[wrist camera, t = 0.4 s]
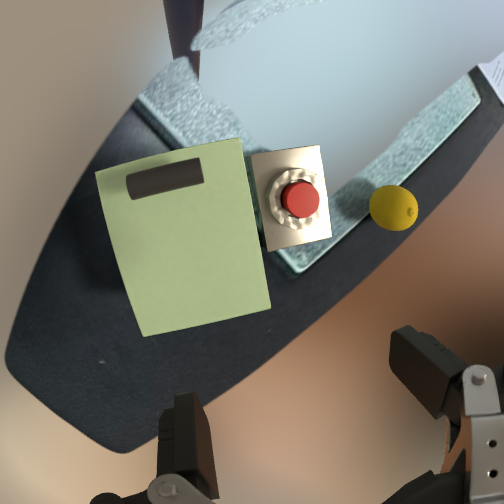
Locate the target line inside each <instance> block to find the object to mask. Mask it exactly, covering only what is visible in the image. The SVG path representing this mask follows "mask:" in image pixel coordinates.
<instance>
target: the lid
mask: <svg viewBox="0 0 504 504" xmlns="http://www.w3.org/2000/svg"><path fill="white" fill-rule="evenodd" d="M95 176H96V181H97V186H98V190H99V195H100V199H101V204H102V208H103V212H104V216H105V220H106V224H107V228H108V232H109V235H110V239H111V243H112V246H113V250H114V253H115V256H116V260H117V263H118V266H119V270H120V273H121V276H122V279H123V282H124V285H125V288H126V291H127V294H128V297H129V300H130V303H131V306H132V308H133V311H134V314H135V317H136V319H137V322H138V325H139V327H140V330H141V332H142V335H143V337H144V336H150V335H155V334H160V333H165V332H170V331H175V330H179V329H184V328H189V327H194V326H198V325H203V324H207V323H212V322H216V321H220V320H225V319H229V318H233V317H237V316H242V315H246V314H250V313H254V312H258V311H262V310H266V309H270V308H271V305H270V299H269V293H268V288H267V282H266V277H265V271H264V265H263V260H262V254H261V249H260V243H259V238H258V232H257V227H256V221H255V216H254V211H253V205H252V200H251V194H250V189H249V184H248V178H247V173H246V168H245V162H244V157H243V152H242V146H241V141H240V138H239V137H238V138H232V139H227V140H221V141H216V142H211V143H206V144H201V145H196V146H192V147H187V148H183V149H178V150H174V151H170V152H165V153H161V154H157V155H153V156H150V157H146V158H142V159H138V160H135V161H131V162H127V163H124V164H120V165H117V166H114V167H110V168H107V169H104V170H101V171H97V172H95Z"/></svg>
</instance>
